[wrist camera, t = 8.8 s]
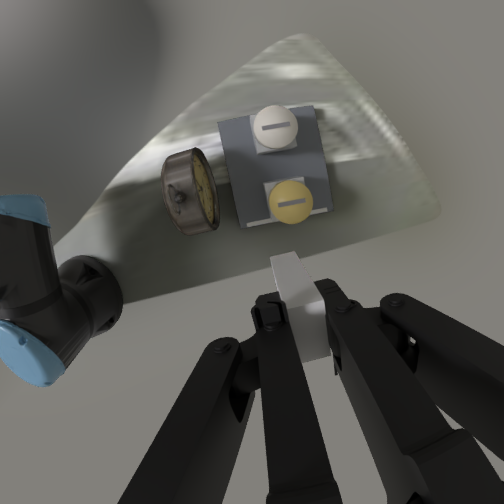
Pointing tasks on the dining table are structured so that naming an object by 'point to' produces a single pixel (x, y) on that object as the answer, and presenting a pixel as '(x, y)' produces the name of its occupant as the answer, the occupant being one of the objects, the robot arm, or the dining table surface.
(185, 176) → the alarm clock
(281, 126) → the knob ivory
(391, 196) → the dining table surface
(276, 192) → the knob mustard
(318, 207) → the mount
